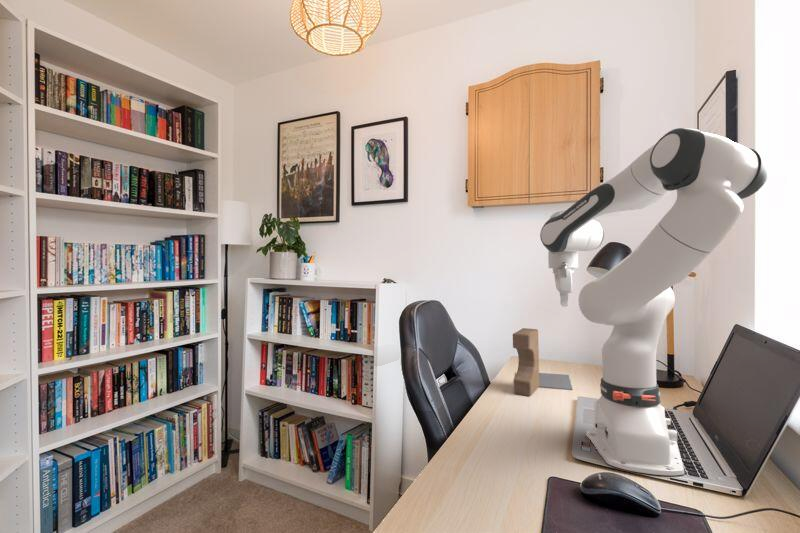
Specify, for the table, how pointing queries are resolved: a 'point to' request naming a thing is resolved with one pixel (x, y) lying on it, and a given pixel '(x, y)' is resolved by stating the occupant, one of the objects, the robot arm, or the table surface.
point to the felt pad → (554, 381)
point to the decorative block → (526, 361)
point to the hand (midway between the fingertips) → (564, 305)
